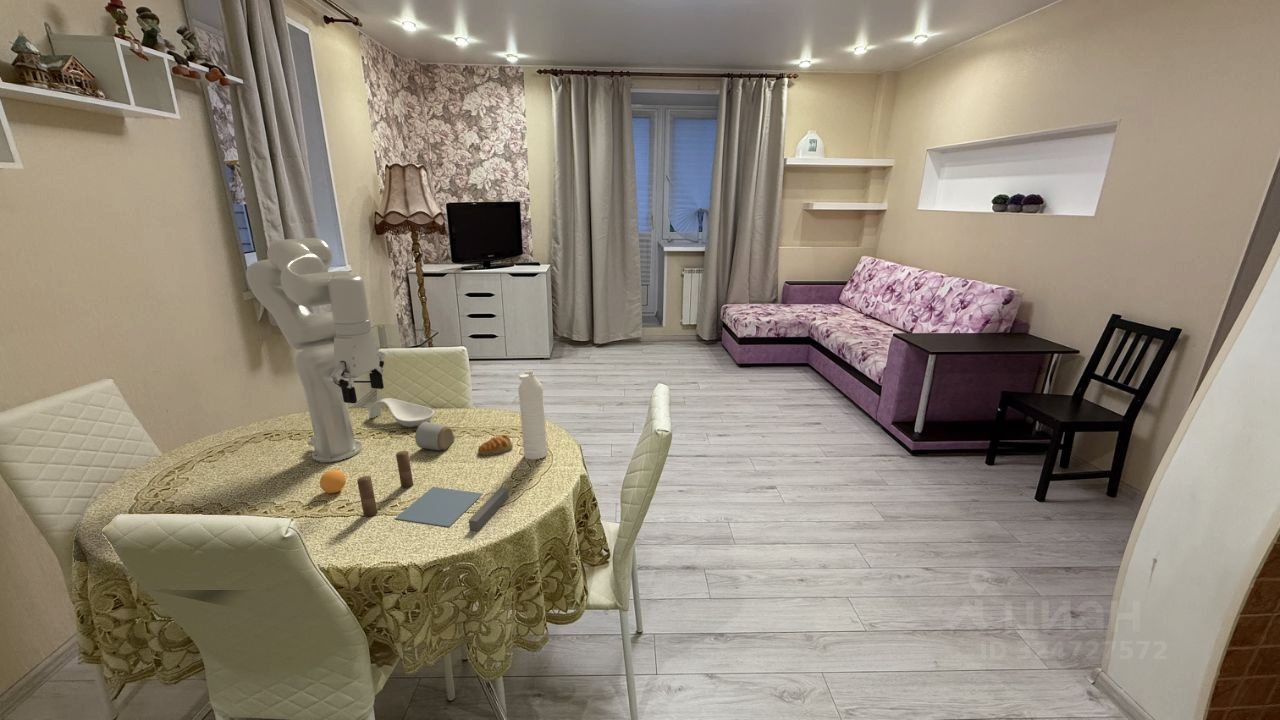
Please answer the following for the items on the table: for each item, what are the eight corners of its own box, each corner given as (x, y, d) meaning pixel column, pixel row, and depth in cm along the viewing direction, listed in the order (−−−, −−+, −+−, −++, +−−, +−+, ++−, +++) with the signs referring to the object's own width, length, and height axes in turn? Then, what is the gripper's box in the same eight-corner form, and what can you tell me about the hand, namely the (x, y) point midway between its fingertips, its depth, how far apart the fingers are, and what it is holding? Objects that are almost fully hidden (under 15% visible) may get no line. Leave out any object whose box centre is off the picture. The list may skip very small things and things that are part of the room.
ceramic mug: (440, 455, 149) (437, 430, 147) (416, 452, 151) (412, 427, 149) (462, 440, 159) (459, 416, 157) (439, 437, 161) (436, 413, 159)
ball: (316, 496, 129) (312, 475, 128) (334, 484, 134) (330, 464, 133) (335, 498, 128) (331, 478, 126) (352, 487, 133) (348, 467, 131)
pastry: (484, 460, 146) (482, 447, 145) (474, 451, 151) (472, 439, 150) (515, 449, 152) (513, 437, 151) (504, 442, 157) (503, 430, 156)
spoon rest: (442, 419, 175) (440, 399, 173) (417, 433, 164) (413, 412, 162) (387, 411, 183) (384, 391, 181) (359, 424, 172) (355, 403, 170)
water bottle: (528, 449, 152) (521, 366, 144) (550, 450, 151) (544, 367, 144) (518, 463, 143) (510, 376, 136) (541, 464, 143) (534, 377, 135)
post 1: (361, 516, 120) (354, 481, 118) (369, 509, 123) (363, 475, 120) (371, 518, 120) (364, 482, 117) (380, 511, 122) (373, 476, 120)
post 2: (398, 487, 132) (393, 455, 130) (406, 482, 135) (401, 450, 132) (408, 489, 132) (403, 456, 129) (415, 483, 134) (410, 451, 132)
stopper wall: (469, 530, 114) (468, 520, 114) (501, 496, 127) (500, 487, 127) (478, 531, 114) (476, 521, 113) (508, 497, 127) (507, 488, 126)
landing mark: (395, 519, 119) (394, 518, 119) (432, 487, 132) (432, 486, 132) (449, 527, 116) (449, 526, 116) (482, 494, 129) (482, 493, 129)
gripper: (364, 319, 134) (374, 382, 139) (311, 336, 117) (325, 407, 123) (390, 320, 132) (400, 384, 137) (340, 338, 116) (353, 410, 121)
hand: (364, 395), depth 130 cm, fingers open, 9 cm apart
